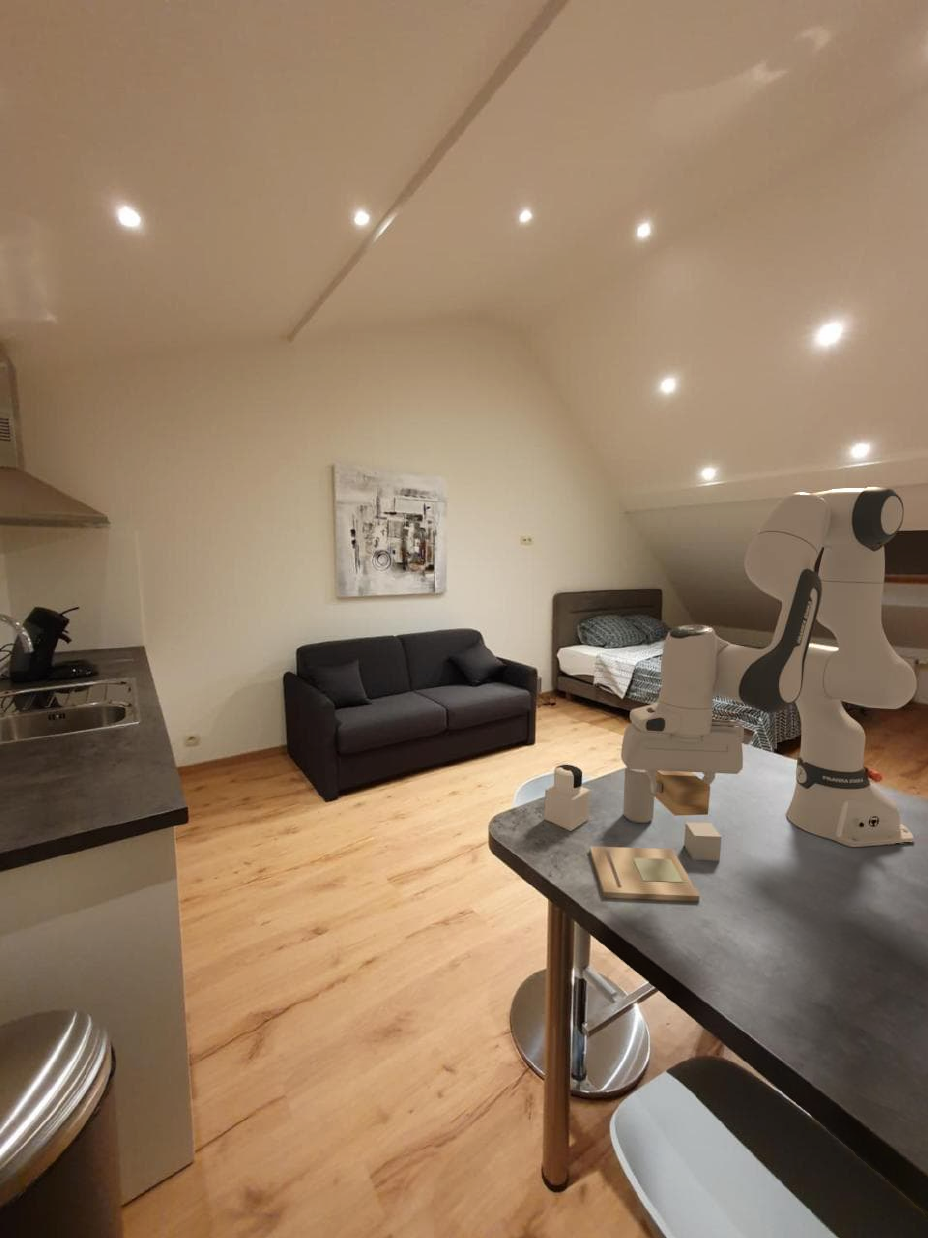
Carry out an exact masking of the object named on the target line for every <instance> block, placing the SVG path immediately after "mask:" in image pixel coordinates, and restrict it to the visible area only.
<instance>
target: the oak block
mask: <svg viewBox="0 0 928 1238" xmlns="http://www.w3.org/2000/svg"><path fill="white" fill-rule="evenodd" d="M653 776H654V775H653ZM654 778H655V780H656V781H660V783H661V784H662V789H661V790H662V793H661V794H655V793H652V791H651V788H650V792H651V793H652V794H653V795H654V798H656V799H657V800H658V801H659V802H660V803H661V804H662V805H663V806H664V807H665V808H666V809H667V810H668V811H669V812H670V813H671V814H672V815H674V816H676V817H677V816H700V815H701V816H705V815H707V816H708V815H709V808H710V806H709V805H710V795H711V785H708V784H706V783H705V782H704V781H702V778H700V777H699V776H697V775H696V774H694V772H682V771H660V770H657V775H656V776H654Z"/></svg>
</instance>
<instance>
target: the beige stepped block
mask: <svg viewBox="0 0 928 1238" xmlns="http://www.w3.org/2000/svg"><path fill="white" fill-rule="evenodd" d="M544 793H545V794H544V820H545V821H548V822H550V823H552V824H553V825H557V826H559V827H561V828H563V829H565V830H567V831H570V832H572V831H573V830H575V829H576V828H578V827H579V826H582V825H583V824H584V823H585V822H587V821H589V819H590V799H591V797H590V796H591V791H590V789H589V788H586V787H584V786H583V771H582V770H581V769H580V768H579V767H578V766H575V765H573V764H561V765H557V766H556V767H555V768H554V770H553V785H552V786H550V787H548V788H546V789H545V792H544Z"/></svg>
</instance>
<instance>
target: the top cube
mask: <svg viewBox="0 0 928 1238" xmlns="http://www.w3.org/2000/svg"><path fill="white" fill-rule="evenodd" d="M684 826H685V827H684V840H683V841H684V843H683V845H684V847H685V849H686V851H687V852H688V853H689V855H690V857H691V858H692V860H697V861H698V860H699V861H700V860H701V861H720V860H721V847H722V835H721V834H720V832H719V831H718V830H717V829H716V828H715V826H714V825H713V823H711V822H689V821H687V822H685V825H684Z"/></svg>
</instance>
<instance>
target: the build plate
mask: <svg viewBox="0 0 928 1238" xmlns="http://www.w3.org/2000/svg"><path fill="white" fill-rule="evenodd" d="M589 853H590V857H591V860H592V862H593V866H594V869H595V872H596V876H597V879H598V882H599V885H600V889H601V892H602V896H603V898H610V899H612V898H613V899H630V900H631V899H635V900H657V901H680V902H683V901H684V902H700V894H699V892H698V891H697V889H696V888H695V885H694V884H693V882H692V880H691V879H690V877H689V875H688V873H687V872H686V870H685V868H684V867H683V865H682V863H681V862H680V859H679V858H678V857H677V855H676V853H675V851H674V850H673V849H672V848H645V847H644V848H643V847H621V846H620V847H618V846H616V847H615V846H614V847H613V846H592V845H591V846H589Z"/></svg>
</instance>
